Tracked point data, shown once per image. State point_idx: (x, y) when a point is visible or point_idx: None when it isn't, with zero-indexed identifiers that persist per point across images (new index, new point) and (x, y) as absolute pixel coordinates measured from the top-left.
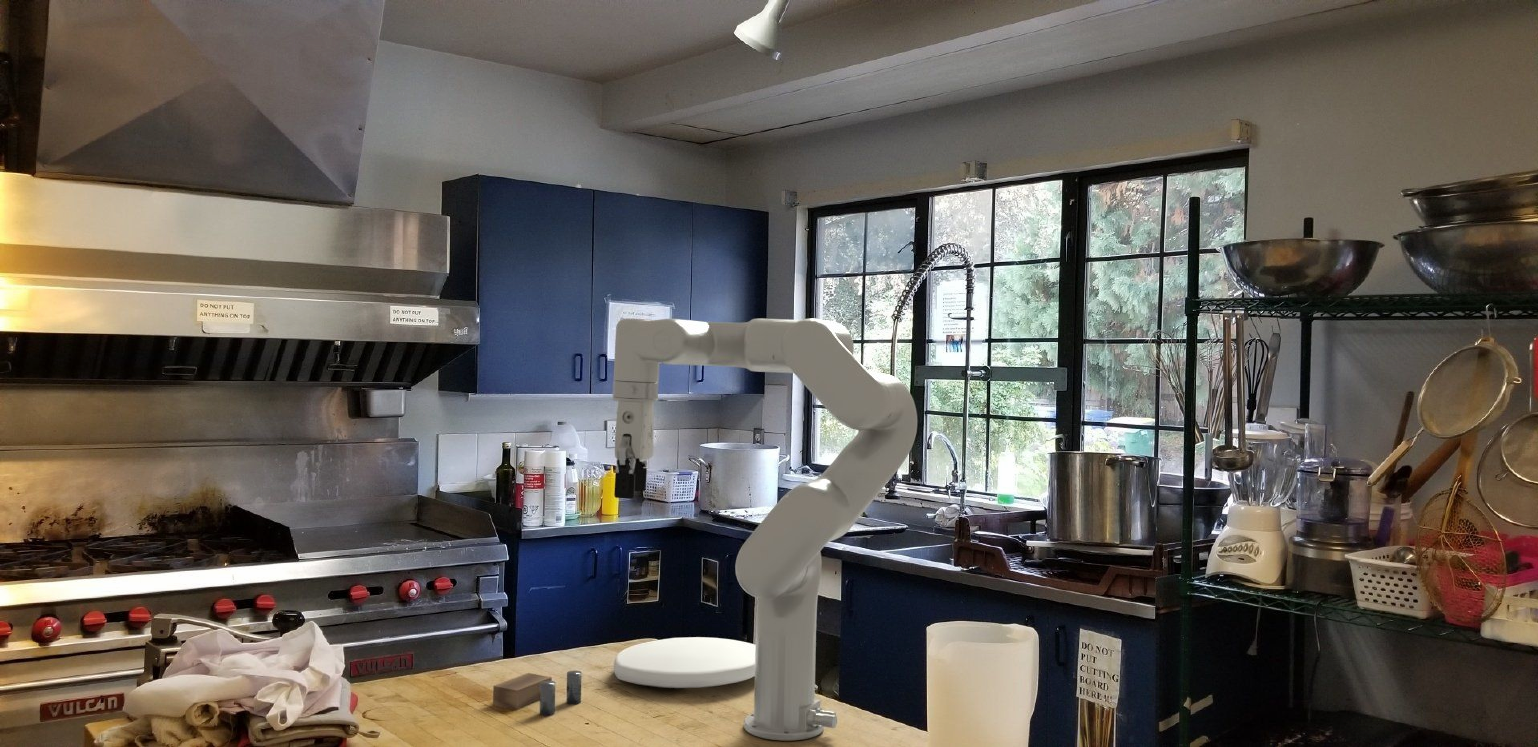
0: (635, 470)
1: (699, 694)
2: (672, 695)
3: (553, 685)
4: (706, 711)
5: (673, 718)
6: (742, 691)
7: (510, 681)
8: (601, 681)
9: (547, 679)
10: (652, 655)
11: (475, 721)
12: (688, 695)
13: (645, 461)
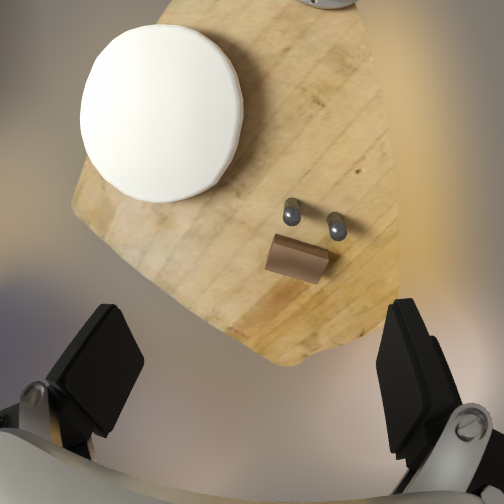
0: (95, 409)
1: None
2: None
3: (341, 225)
4: (287, 54)
5: (322, 84)
6: None
7: (299, 275)
8: (210, 200)
9: (281, 244)
10: (188, 150)
11: (364, 271)
12: None
13: (38, 415)
